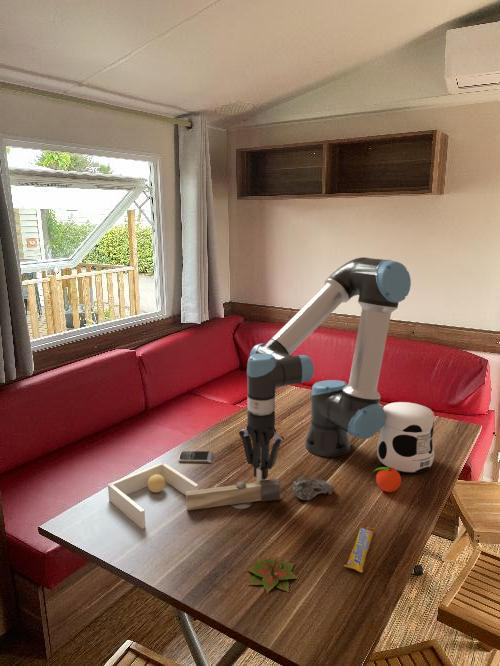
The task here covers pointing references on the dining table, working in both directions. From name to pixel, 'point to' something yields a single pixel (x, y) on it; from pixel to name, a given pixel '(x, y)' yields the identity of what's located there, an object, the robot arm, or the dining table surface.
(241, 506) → the pivot disc
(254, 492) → the lever
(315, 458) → the dining table surface
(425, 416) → the milk container
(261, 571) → the lily flower
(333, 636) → the dining table surface
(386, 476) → the clementine
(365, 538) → the candy bar
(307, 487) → the fossilized seashell
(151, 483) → the ball
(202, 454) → the cell phone
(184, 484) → the frame
